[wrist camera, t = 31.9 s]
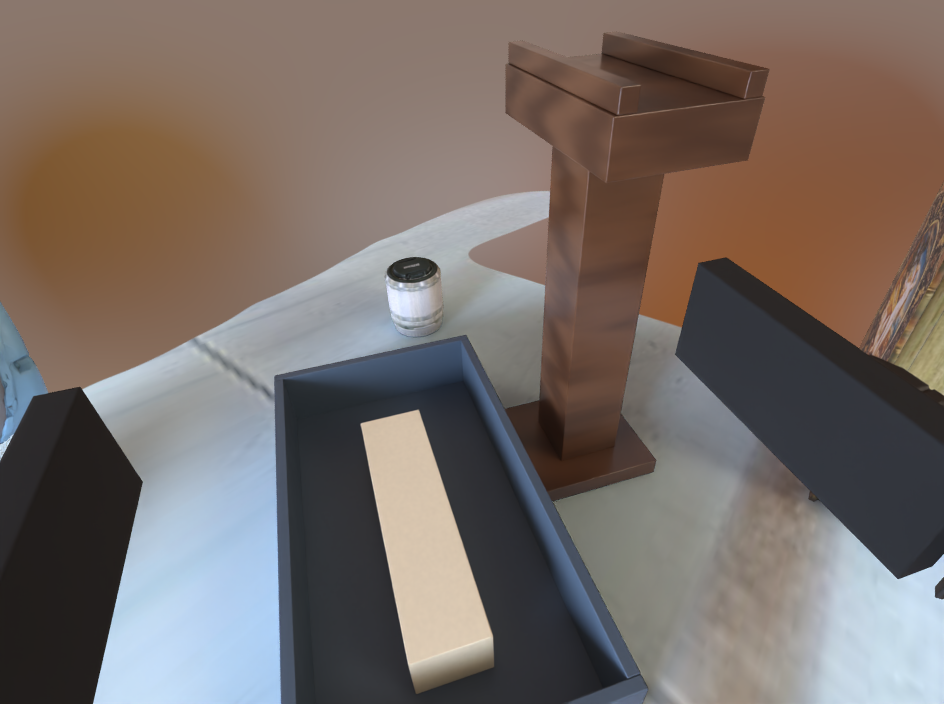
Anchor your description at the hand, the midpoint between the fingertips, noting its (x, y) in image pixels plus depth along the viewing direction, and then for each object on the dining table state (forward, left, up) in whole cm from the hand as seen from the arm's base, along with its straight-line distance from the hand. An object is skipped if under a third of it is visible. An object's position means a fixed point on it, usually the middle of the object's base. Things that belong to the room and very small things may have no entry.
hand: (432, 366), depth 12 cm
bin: (-13, +7, -29) cm, 32 cm away
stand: (-10, +23, -29) cm, 38 cm away
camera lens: (-35, +27, -29) cm, 53 cm away
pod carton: (-12, +7, -27) cm, 30 cm away
